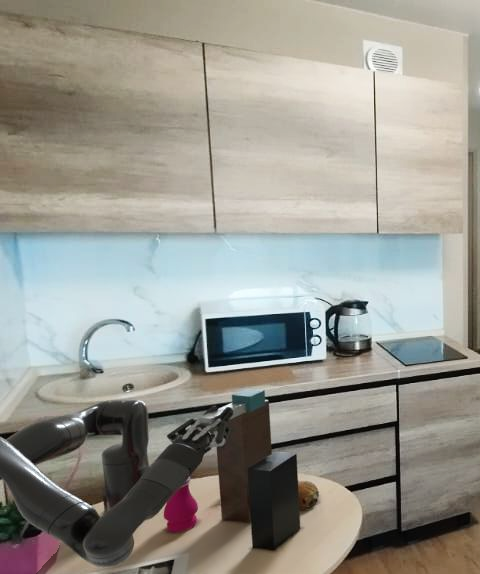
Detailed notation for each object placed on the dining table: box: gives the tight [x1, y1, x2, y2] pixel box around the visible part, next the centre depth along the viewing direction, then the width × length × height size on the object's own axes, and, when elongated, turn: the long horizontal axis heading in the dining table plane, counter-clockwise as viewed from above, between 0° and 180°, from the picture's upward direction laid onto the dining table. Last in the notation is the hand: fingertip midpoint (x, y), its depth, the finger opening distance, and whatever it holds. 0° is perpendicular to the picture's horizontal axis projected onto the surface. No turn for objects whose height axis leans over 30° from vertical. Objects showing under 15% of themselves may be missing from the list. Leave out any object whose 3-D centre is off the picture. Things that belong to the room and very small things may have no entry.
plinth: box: [215, 399, 273, 524], centre depth 160 cm, size 8×10×32 cm
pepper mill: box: [163, 476, 199, 533], centre depth 153 cm, size 7×7×20 cm
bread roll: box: [298, 480, 320, 511], centre depth 169 cm, size 10×10×8 cm
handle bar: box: [198, 388, 266, 428], centre depth 142 cm, size 5×16×4 cm, turn 175°
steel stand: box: [247, 451, 301, 551], centre depth 150 cm, size 6×10×22 cm, turn 175°
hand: (223, 408), depth 139 cm, fingers closed on handle bar, 3 cm apart
